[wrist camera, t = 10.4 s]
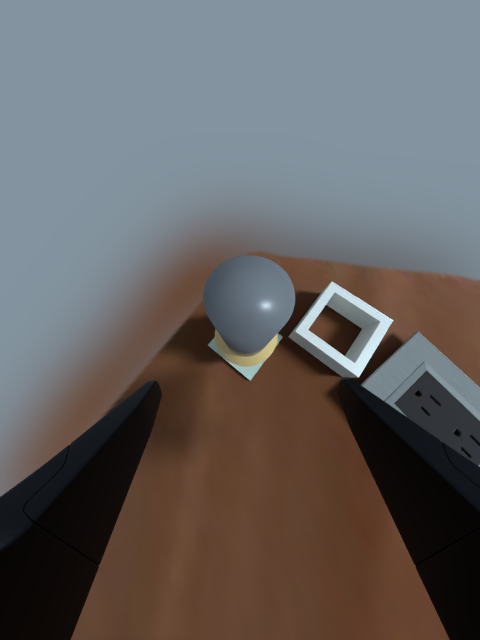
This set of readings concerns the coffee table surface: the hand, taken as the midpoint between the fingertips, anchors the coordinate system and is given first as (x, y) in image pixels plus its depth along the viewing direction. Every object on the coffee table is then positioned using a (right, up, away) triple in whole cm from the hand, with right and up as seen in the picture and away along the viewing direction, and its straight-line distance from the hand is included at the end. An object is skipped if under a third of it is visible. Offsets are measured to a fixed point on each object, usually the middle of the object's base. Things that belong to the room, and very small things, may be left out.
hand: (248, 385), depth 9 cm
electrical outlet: (+18, -7, +10) cm, 22 cm away
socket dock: (+10, +2, +12) cm, 16 cm away
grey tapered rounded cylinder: (0, +1, +11) cm, 11 cm away
